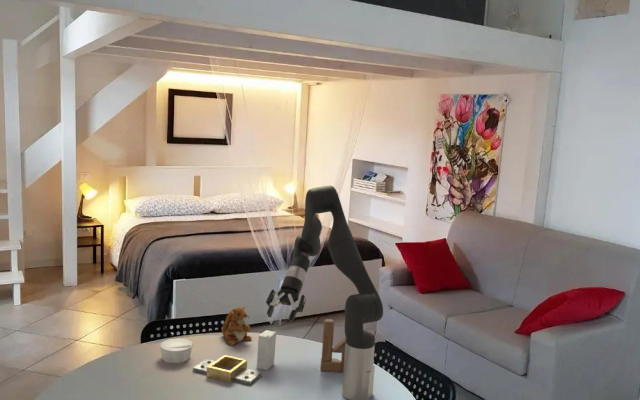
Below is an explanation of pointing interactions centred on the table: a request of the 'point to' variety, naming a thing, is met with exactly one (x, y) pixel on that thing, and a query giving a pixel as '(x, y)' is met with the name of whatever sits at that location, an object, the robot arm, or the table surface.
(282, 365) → the table surface
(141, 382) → the table surface
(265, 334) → the skincare box
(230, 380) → the square socket fixture
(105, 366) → the table surface
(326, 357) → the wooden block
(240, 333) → the stuffed squirrel
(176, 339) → the ramekin
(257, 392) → the table surface
